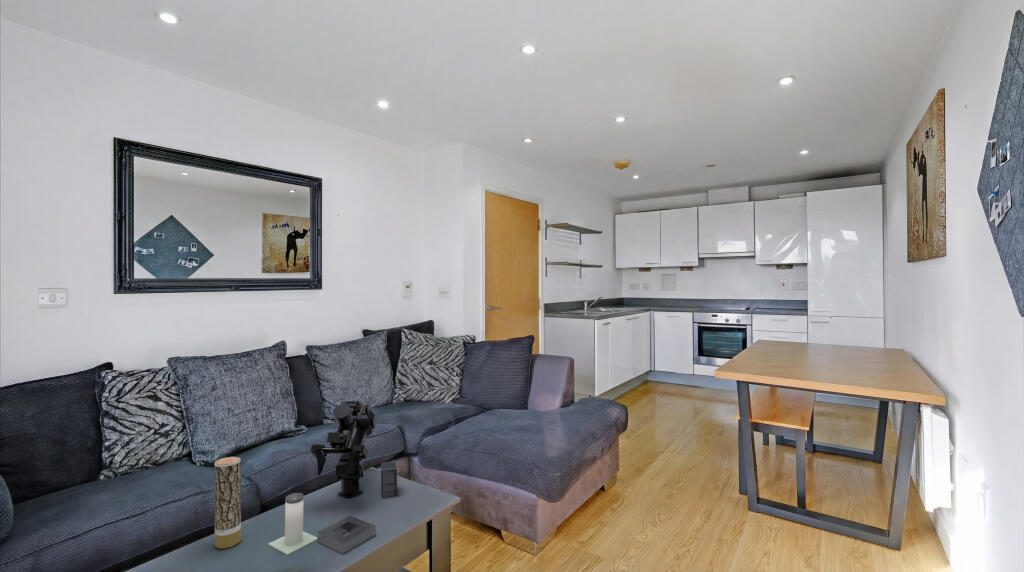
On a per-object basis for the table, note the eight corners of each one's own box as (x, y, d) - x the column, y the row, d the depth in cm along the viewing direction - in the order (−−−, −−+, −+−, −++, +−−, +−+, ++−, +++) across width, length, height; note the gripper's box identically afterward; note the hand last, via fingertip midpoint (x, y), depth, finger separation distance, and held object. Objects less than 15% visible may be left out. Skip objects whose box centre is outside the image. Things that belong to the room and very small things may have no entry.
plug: (283, 538, 143) (284, 495, 143) (301, 534, 146) (302, 491, 146) (285, 546, 139) (286, 501, 139) (303, 542, 141) (304, 498, 141)
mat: (268, 545, 141) (268, 543, 141) (298, 530, 149) (298, 529, 149) (287, 555, 135) (287, 553, 135) (318, 539, 144) (318, 538, 144)
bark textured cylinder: (228, 551, 138) (228, 465, 138) (209, 548, 139) (208, 464, 139) (246, 538, 144) (246, 457, 144) (227, 536, 146) (227, 455, 146)
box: (380, 490, 178) (380, 462, 178) (396, 488, 180) (395, 460, 180) (381, 499, 171) (381, 469, 171) (397, 496, 173) (397, 468, 173)
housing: (317, 541, 142) (317, 532, 142) (350, 524, 152) (350, 515, 152) (343, 554, 136) (343, 543, 136) (375, 535, 146) (375, 525, 146)
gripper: (312, 421, 164) (296, 464, 153) (364, 421, 163) (352, 465, 152) (322, 436, 172) (308, 478, 161) (372, 436, 171) (361, 479, 160)
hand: (332, 475), depth 159 cm, fingers open, 9 cm apart
